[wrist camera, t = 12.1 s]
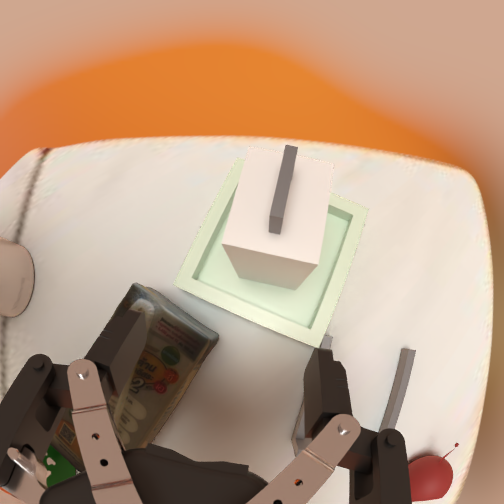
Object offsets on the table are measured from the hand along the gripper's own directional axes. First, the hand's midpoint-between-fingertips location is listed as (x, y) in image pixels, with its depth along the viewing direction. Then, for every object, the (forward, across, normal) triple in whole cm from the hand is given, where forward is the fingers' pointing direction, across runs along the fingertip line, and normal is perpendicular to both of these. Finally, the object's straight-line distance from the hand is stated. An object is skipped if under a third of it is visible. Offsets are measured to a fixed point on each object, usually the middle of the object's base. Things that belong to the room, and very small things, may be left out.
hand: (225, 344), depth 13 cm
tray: (+15, -2, +2) cm, 15 cm away
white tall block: (+14, -2, +2) cm, 14 cm away
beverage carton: (+5, +8, +15) cm, 18 cm away
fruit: (+1, -22, +17) cm, 28 cm away
